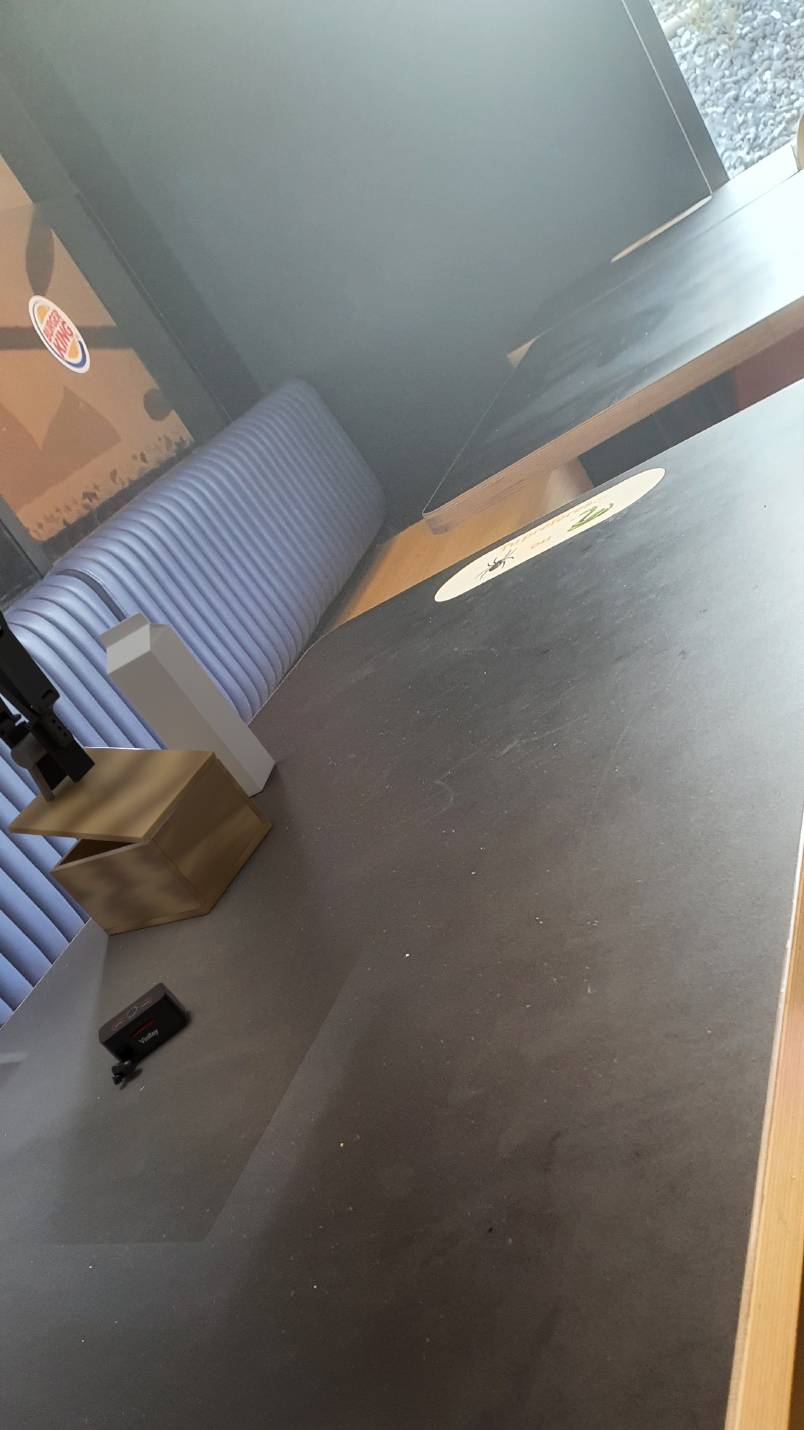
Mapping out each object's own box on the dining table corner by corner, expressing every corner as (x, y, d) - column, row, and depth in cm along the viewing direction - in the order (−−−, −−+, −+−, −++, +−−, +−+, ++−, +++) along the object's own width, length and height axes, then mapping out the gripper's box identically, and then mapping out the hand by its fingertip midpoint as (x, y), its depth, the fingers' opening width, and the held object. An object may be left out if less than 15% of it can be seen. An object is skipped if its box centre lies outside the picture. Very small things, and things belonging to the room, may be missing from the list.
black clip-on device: (116, 1061, 94) (89, 1035, 92) (187, 1007, 94) (162, 980, 93) (120, 1090, 90) (92, 1063, 88) (194, 1033, 90) (168, 1005, 89)
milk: (262, 791, 124) (129, 623, 114) (219, 812, 127) (84, 649, 116) (276, 762, 129) (150, 598, 119) (234, 782, 132) (106, 623, 121)
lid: (10, 833, 110) (-29, 773, 105) (87, 752, 118) (54, 694, 114) (145, 843, 103) (109, 780, 98) (217, 757, 111) (187, 695, 107)
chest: (108, 935, 116) (48, 872, 112) (174, 852, 124) (121, 790, 120) (208, 914, 107) (146, 844, 103) (272, 825, 115) (218, 757, 111)
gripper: (-28, 518, 98) (147, 735, 109) (-124, 577, 107) (46, 771, 118) (-89, 562, 93) (101, 785, 104) (-183, 619, 102) (0, 818, 113)
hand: (71, 777), depth 111 cm, fingers open, 3 cm apart
